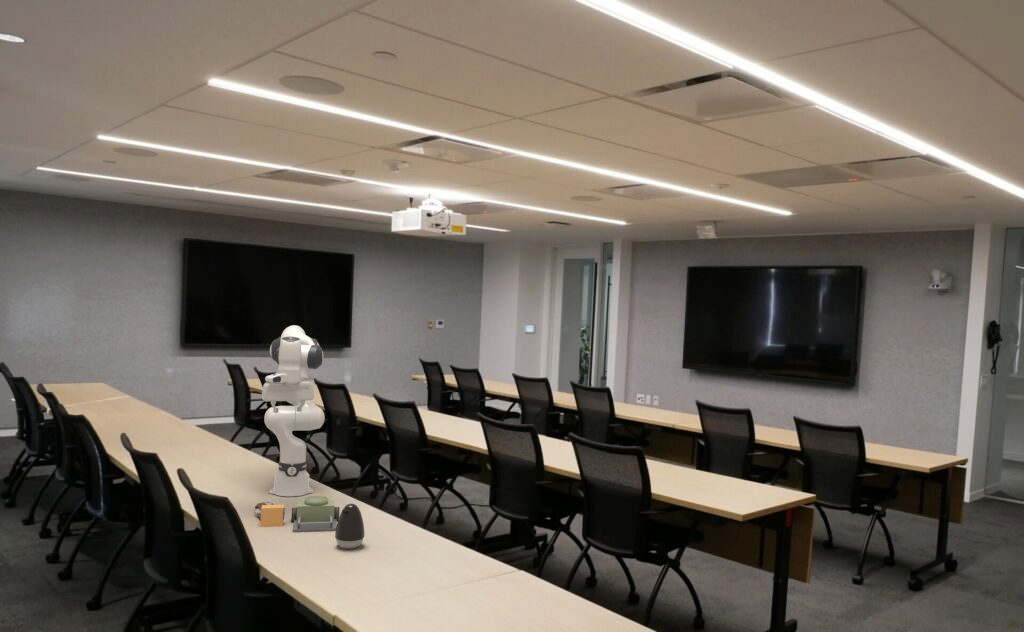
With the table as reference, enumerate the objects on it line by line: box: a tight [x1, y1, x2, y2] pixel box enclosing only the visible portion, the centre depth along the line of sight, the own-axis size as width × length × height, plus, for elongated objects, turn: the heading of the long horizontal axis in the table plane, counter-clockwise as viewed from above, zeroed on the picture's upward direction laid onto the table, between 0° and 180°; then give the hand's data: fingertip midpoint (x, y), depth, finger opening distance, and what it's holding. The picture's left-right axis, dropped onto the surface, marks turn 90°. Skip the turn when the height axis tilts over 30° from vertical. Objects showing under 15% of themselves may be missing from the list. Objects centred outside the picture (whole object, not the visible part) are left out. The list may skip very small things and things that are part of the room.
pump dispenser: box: [334, 503, 366, 550], centre depth 255 cm, size 10×10×15 cm
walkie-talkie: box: [253, 501, 275, 520], centre depth 288 cm, size 9×4×20 cm
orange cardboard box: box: [260, 504, 286, 528], centre depth 277 cm, size 4×8×7 cm, turn 104°
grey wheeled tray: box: [290, 495, 340, 533], centre depth 279 cm, size 19×18×9 cm
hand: (287, 412), depth 289 cm, fingers open, 8 cm apart
